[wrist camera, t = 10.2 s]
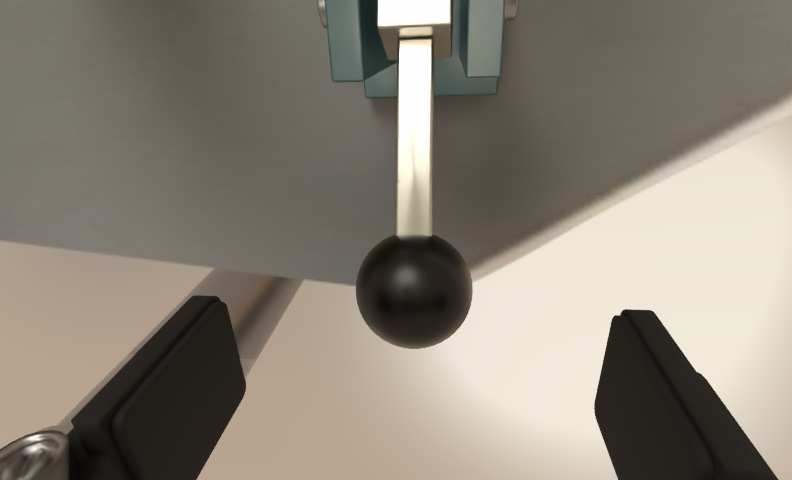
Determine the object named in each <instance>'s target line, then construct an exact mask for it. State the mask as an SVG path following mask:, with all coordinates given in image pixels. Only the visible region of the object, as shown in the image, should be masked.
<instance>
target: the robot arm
mask: <svg viewBox="0 0 792 480" xmlns="http://www.w3.org/2000/svg"><path fill="white" fill-rule="evenodd" d="M245 389H246V382H245V377H244V373H243V369H242V365H241V361H240V357H239V353H238V349H237V345H236V341H235V337H234V333H233V329H232V325H231V321H230V317H229V313H228V309H227V306H226V304H225V303H224V302H221V300H220V299H219V298H218V297H216V296H193V297H191V298H190V299H189V300H188V301H187V302H186V303H185V304H184V305H183V306H182V307H181V308H180V309H179V310H178V311H177V312H176V313H175V314H174V315H173V316H172V317H171V318H170V319H169V320H168V321H167V322H166V323H165V324H164V325H163V326H162V327H161V329H160V330H159V331H158V332H157V333H156V334H155V335H154V336H153V337H152V338H151V339H150V340H149V341H148V342H147V343H146V344H145V345H144V346H143V347H142V348H141V349H140V350H139V351H138V352H137V353H136V354H135V355H134V356H133V357H132V358H131V359H130V360H129V361H128V362H127V363H126V364H125V365H124V366H123V367H122V368H121V369H120V370H119V371H118V372H117V373H116V375H115V376H114V377H113V378H112V379H111V380H110V381H109V382H108V383H107V384H106V385H105V386H104V387H103V388H102V389H101V390H100V391H99V392H98V393H97V394H96V395H95V396H94V397H93V398H92V399H91V400H90V401H89V402H88V403H87V404H86V405H85V406H84V407H83V408H82V409H81V410H80V411H79V412H78V413H77V414H76V415H75V416H74V417H73V418H72V419H71V423H72V425H73V427H74V428H73V429H72V430H71V431H70V432H69V433H68V434H67V435H65V434H64V433H63V432H61V431H56V430H45V431H39V432H35V433H32V434H29V435H26V436H24V437H22V438H19V439H17V440H15V441H13V442H11V443H9V444H8V445H6V446H5V447H3V448H2V449H0V480H196V479H197V477H198V476H199V474H200V472H201V470H202V469H203V467H204V465H205V463H206V462H207V460H208V458H209V456H210V455H211V452H212V451H213V449H214V447H215V446H216V444H217V442H218V440H219V439H220V437H221V435H222V433H223V432H224V430H225V428H226V427H227V425H228V423H229V421H230V420H231V418H232V416H233V414H234V413H235V411H236V409H237V407H238V406H239V404H240V402H241V400H242V399H243V396H244V394H245ZM595 416H596V420H597V422H598V425H599V428H600V431H601V434H602V436H603V439H604V442H605V444H606V447H607V450H608V452H609V455H610V458H611V461H612V464H613V466H614V469H615V472H616V475H617V477H618V480H778V479H777V477H776V476H775V475H774V473H773V472H772V471H771V469H770V468H769V466H768V465H767V463H766V462H765V461H764V459H763V458H762V456H761V455H760V454H759V452H758V451H757V449H756V448H755V447H754V445H753V444H752V442H751V441H750V440H749V438H748V437H747V435H746V434H745V433H744V431H743V430H742V429H741V427H740V426H739V424H738V423H737V422H736V420H735V419H734V417H733V416H732V415H731V413H730V412H729V410H728V409H727V408H726V406H725V405H724V404H723V402H722V401H721V399H720V398H719V397H718V395H717V394H716V393H715V391H714V390H713V388H712V387H711V385H710V384H709V383H708V381H707V380H706V379H705V378H704V377H703V376H702V375H701V374H700V373H698V372H696V371H695V369H694V368H693V367H692V365H691V364H690V362H689V361H688V360H687V358H686V357H685V355H684V354H683V352H682V351H681V350H680V348H679V347H678V345H677V344H676V343H675V341H674V340H673V338H672V337H671V335H670V334H669V333H668V331H667V330H666V328H665V327H664V326H663V324H662V323H661V321H660V320H659V319H658V317H657V316H656V315H655V313H654V312H653V311H650V310H623V311H622V312H621V315H620V316H614V317H613V319H612V322H611V327H610V332H609V337H608V341H607V347H606V351H605V356H604V360H603V365H602V370H601V375H600V380H599V385H598V389H597V394H596V399H595Z"/></svg>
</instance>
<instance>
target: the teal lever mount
mask: <svg viewBox="0 0 792 480" xmlns="http://www.w3.org/2000/svg"><path fill="white" fill-rule="evenodd" d="M518 1H519V0H453V37H452V56H451V58H435V79H434V96H464V95H496V94H497V88H498V77H500V76H501V67H502V49H503V32H504V21H505V20H514V19H515V17H516V13H517V8H518ZM317 2H318V10H319V15H320V19H321V22H322V24H323V26H324V27H325V28H326V29H327V33H328V43H329V53H330V64H331V74H332V81H333V82H363V81H364V88H365V97H366V98H389V97H397V60H387V57H386V54H385V51H384V48H383V45H382V42H381V40H380V37H379V34H378V31H377V28H376V0H317Z"/></svg>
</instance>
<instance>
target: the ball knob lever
mask: <svg viewBox="0 0 792 480" xmlns="http://www.w3.org/2000/svg"><path fill="white" fill-rule="evenodd" d="M376 28H377V31H378V34H379V37H380V40H381V42H382V45H383V48H384V51H385V54H386V57H387V60H397V137H396V226H395V235H393V236H391V237H388V238H386V239H385V240H383V241H382V242H380V243H379V244H377V245H376V246H375V247H374V248H373V249H372V250H371V251H370V252H369V253H368V255H367V256H366V258H365V259H364V261H363V263H362V265H361V267H360V270H359V273H358V277H357V282H356V298H357V303H358V306H359V310H360V312H361V315H362V317H363V319H364V320H365V322H366V324H367V325H368V326H369V327H370V329H372V331H373V332H374V333H375V334H376V335H378V336H379V337H380V338H382V339H383V340H385V341H387V342H389V343H391V344H393V345H396V346H399V347H404V348H410V349H418V348H425V347H430V346H433V345H436V344H438V343H440V342H442V341H444V340H445V339H447V338H449V337H450V336H451V335H452V334H453V333H455V331H456V330H457V329H458V328H459V327H460V326H461V324H462V323H463V322H464V320H465V318H466V316H467V314H468V311H469V308H470V305H471V301H472V280H471V275H470V272H469V269H468V267H467V265H466V262H465V261H464V259H463V258H462V256H461V255H460V253H459V252H458V251H457V250H456V249H455V248H454V247H453V246H452V245H451V244H449V243H448V242H447V241H445V240H444V239H442V238H440V237H438V236H435V235H433V165H434V79H435V58H451V56H452V37H453V0H376Z"/></svg>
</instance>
